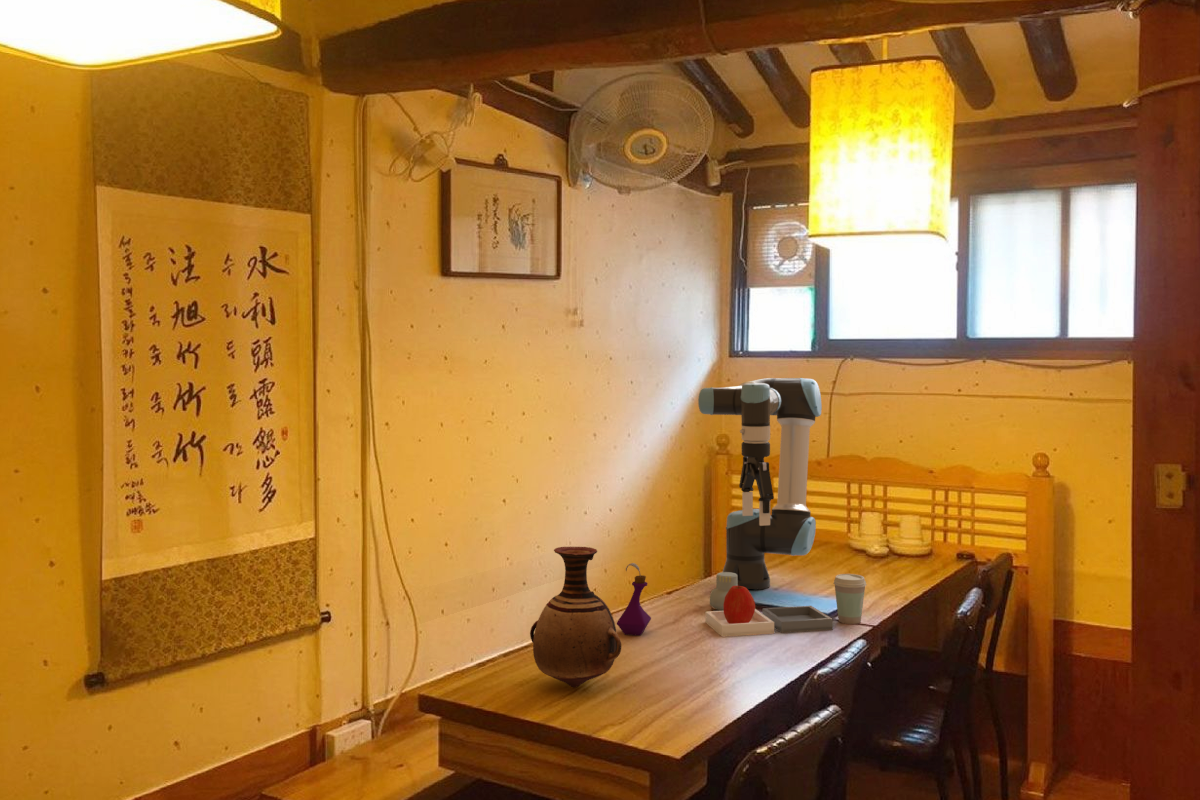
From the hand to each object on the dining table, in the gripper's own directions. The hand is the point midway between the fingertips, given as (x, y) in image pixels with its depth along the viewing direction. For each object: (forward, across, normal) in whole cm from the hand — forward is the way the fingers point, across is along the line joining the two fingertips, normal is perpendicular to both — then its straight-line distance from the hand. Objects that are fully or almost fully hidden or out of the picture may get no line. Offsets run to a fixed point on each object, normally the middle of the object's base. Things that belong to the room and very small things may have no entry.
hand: (756, 520), depth 275 cm
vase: (+25, +44, -57) cm, 76 cm away
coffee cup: (+28, +7, +24) cm, 37 cm away
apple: (+26, +7, -7) cm, 28 cm away
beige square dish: (+27, +7, -7) cm, 29 cm away
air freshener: (+28, -12, -4) cm, 30 cm away
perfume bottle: (+26, +6, -35) cm, 45 cm away
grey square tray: (+27, +7, +9) cm, 29 cm away
